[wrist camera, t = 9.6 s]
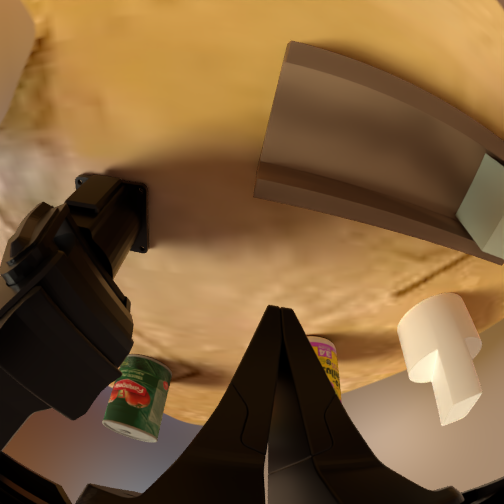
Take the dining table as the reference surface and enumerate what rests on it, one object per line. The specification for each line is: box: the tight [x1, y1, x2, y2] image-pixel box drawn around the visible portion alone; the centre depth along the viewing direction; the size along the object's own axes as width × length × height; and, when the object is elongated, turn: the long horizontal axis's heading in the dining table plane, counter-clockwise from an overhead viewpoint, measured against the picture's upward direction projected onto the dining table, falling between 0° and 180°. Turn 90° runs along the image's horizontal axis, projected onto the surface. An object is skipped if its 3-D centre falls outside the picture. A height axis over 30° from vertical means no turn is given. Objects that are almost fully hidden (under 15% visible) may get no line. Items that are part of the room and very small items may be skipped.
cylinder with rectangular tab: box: [397, 293, 482, 426], centre depth 23 cm, size 9×9×12 cm
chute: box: [253, 41, 504, 266], centre depth 16 cm, size 9×22×4 cm, turn 79°
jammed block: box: [455, 153, 504, 259], centre depth 15 cm, size 6×5×4 cm
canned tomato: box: [102, 354, 172, 442], centre depth 35 cm, size 8×8×11 cm
